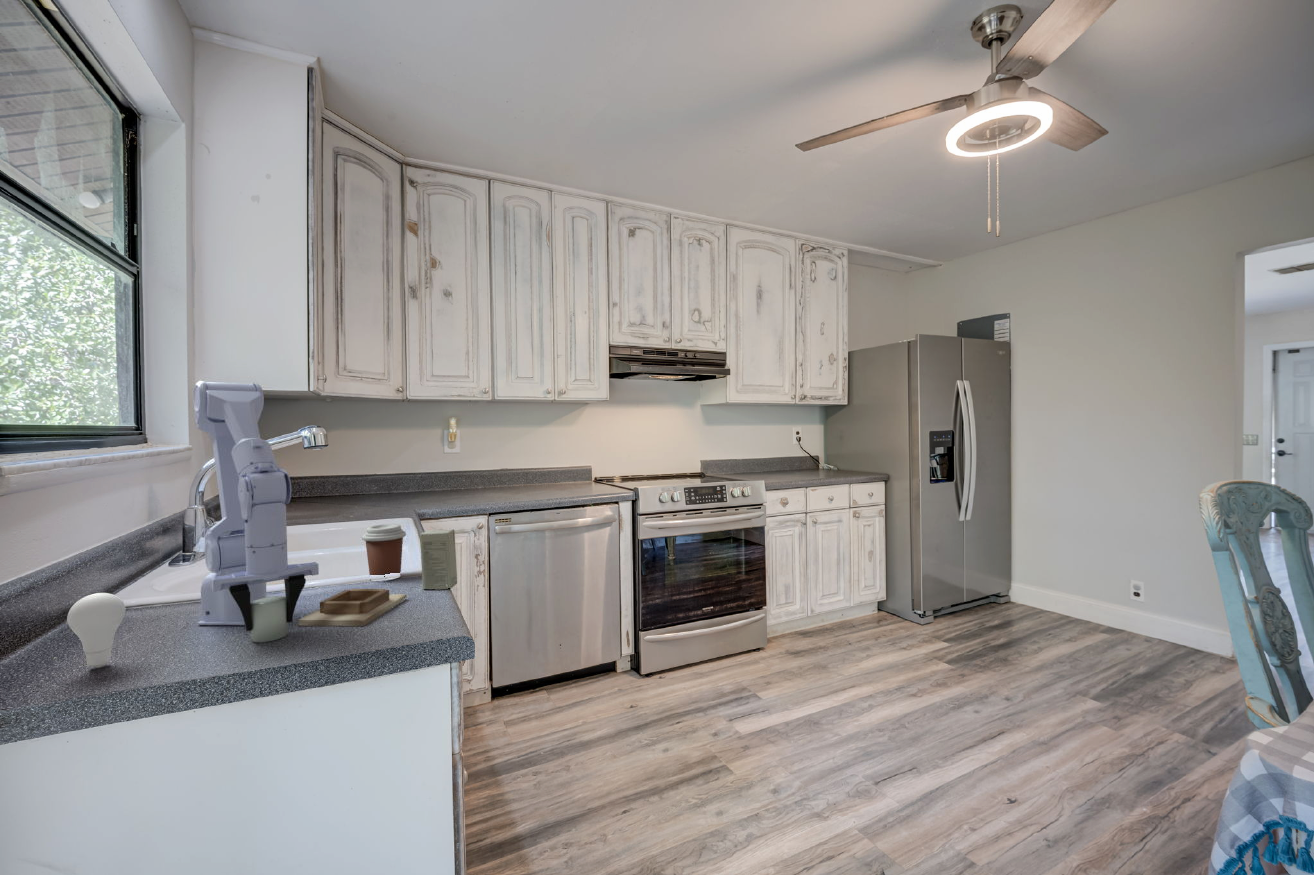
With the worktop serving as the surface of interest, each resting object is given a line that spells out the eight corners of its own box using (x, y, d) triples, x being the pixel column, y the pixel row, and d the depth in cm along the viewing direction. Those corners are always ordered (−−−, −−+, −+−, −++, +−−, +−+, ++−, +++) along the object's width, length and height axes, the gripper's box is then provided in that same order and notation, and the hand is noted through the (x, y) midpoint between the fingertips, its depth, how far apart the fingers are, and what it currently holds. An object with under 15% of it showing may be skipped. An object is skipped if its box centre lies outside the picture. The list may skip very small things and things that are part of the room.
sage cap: (243, 642, 92) (242, 605, 92) (266, 630, 97) (265, 596, 97) (273, 642, 92) (271, 605, 92) (294, 631, 97) (293, 596, 97)
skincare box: (457, 583, 125) (456, 528, 124) (451, 589, 120) (449, 532, 120) (428, 584, 125) (426, 529, 124) (420, 590, 120) (419, 533, 120)
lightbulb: (57, 675, 81) (54, 599, 81) (105, 657, 87) (102, 586, 87) (92, 677, 80) (89, 600, 80) (138, 659, 86) (135, 588, 86)
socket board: (298, 625, 100) (297, 608, 100) (349, 599, 115) (348, 584, 115) (363, 625, 99) (363, 609, 99) (406, 599, 114) (406, 584, 114)
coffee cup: (405, 581, 128) (404, 528, 127) (360, 585, 125) (358, 531, 124) (408, 571, 136) (406, 521, 136) (366, 575, 133) (364, 524, 133)
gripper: (213, 555, 86) (216, 643, 87) (321, 541, 96) (323, 620, 96) (209, 548, 92) (212, 631, 92) (312, 535, 101) (315, 610, 102)
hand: (269, 624), depth 94 cm, fingers closed on sage cap, 5 cm apart
